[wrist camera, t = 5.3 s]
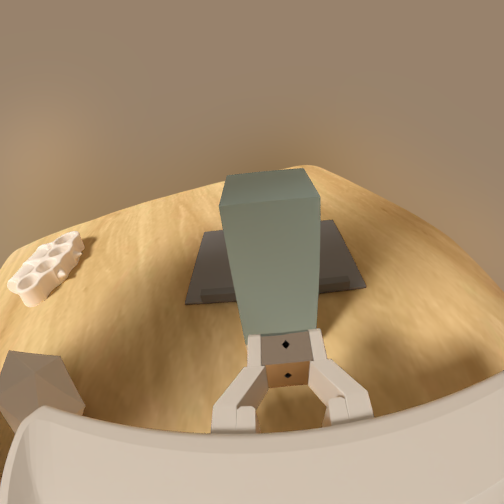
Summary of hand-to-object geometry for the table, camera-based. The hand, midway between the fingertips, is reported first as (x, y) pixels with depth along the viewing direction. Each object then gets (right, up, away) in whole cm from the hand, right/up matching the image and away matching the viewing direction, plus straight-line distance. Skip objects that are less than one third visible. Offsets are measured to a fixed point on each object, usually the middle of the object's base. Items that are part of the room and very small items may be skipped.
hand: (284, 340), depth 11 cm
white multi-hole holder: (-37, 0, +28) cm, 46 cm away
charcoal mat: (+1, +3, +25) cm, 25 cm away
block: (+1, -3, +15) cm, 15 cm away
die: (-19, -12, +6) cm, 23 cm away
